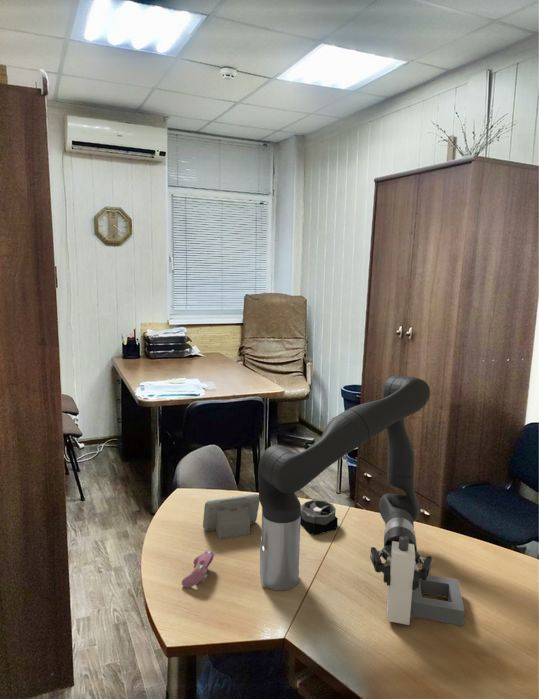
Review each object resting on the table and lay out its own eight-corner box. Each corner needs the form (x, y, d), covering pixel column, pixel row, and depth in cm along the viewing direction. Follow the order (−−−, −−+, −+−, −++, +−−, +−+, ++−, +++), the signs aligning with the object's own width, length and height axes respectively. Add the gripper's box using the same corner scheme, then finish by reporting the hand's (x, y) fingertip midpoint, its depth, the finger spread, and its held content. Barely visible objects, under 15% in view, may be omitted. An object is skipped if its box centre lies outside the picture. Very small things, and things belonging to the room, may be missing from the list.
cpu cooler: (324, 496, 151) (342, 512, 142) (323, 513, 152) (341, 530, 143) (294, 503, 147) (311, 519, 138) (293, 520, 148) (310, 538, 139)
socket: (463, 625, 106) (464, 611, 106) (410, 616, 109) (411, 602, 108) (456, 592, 117) (457, 579, 116) (408, 584, 119) (409, 571, 119)
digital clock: (257, 520, 147) (258, 487, 145) (261, 537, 138) (261, 502, 137) (202, 523, 145) (202, 489, 143) (202, 540, 136) (202, 504, 135)
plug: (409, 625, 105) (416, 546, 101) (386, 620, 106) (393, 542, 102) (408, 610, 109) (415, 534, 106) (387, 606, 110) (393, 530, 107)
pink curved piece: (195, 596, 116) (208, 574, 114) (179, 586, 116) (191, 563, 115) (208, 570, 126) (220, 550, 124) (193, 561, 126) (205, 540, 124)
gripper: (370, 521, 120) (367, 562, 104) (432, 530, 117) (439, 573, 101) (368, 549, 122) (365, 594, 105) (429, 558, 118) (435, 606, 102)
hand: (401, 583), depth 103 cm, fingers closed on plug, 4 cm apart
